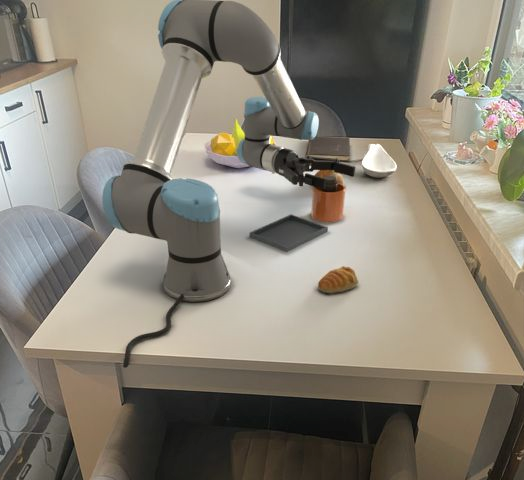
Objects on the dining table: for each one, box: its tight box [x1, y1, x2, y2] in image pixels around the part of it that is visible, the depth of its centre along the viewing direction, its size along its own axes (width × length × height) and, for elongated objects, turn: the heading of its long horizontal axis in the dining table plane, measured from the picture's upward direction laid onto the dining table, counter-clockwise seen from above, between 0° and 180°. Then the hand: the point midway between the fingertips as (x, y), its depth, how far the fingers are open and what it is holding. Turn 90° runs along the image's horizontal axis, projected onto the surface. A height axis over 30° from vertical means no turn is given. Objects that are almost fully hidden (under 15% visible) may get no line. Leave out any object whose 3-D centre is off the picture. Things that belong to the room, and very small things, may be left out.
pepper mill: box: [321, 176, 338, 192], centre depth 154 cm, size 4×4×11 cm
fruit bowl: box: [203, 118, 278, 169], centre depth 195 cm, size 28×27×11 cm
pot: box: [311, 183, 346, 223], centre depth 155 cm, size 9×9×9 cm
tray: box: [249, 214, 329, 253], centre depth 147 cm, size 17×13×2 cm
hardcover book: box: [305, 135, 351, 163], centre depth 207 cm, size 16×23×2 cm
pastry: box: [317, 265, 359, 294], centre depth 124 cm, size 9×7×4 cm
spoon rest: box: [361, 143, 398, 179], centre depth 189 cm, size 24×12×7 cm, turn 0°
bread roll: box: [313, 170, 344, 185], centre depth 176 cm, size 10×10×8 cm
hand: (339, 178), depth 148 cm, fingers open, 13 cm apart
